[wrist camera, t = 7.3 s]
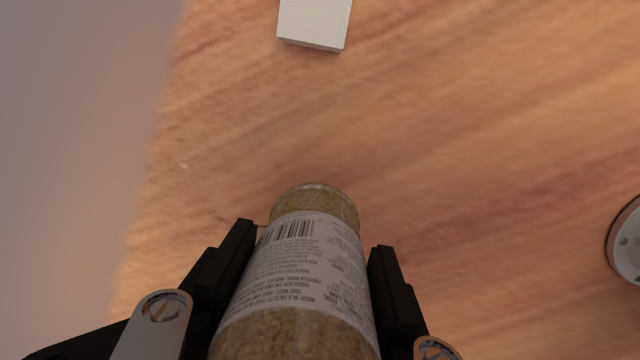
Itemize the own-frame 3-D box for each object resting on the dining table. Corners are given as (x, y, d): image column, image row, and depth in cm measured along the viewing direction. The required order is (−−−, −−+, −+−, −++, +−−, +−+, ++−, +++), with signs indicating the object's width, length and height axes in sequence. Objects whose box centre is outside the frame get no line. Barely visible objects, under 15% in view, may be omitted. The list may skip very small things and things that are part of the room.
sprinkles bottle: (280, 264, 16) (88, 927, 4) (262, 184, 15) (-164, 828, 2) (365, 254, 16) (487, 971, 3) (355, 172, 14) (505, 884, 2)
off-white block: (352, -10, 26) (358, -29, 21) (340, 53, 27) (343, 49, 22) (293, -22, 25) (285, -44, 21) (284, 42, 27) (276, 36, 22)
